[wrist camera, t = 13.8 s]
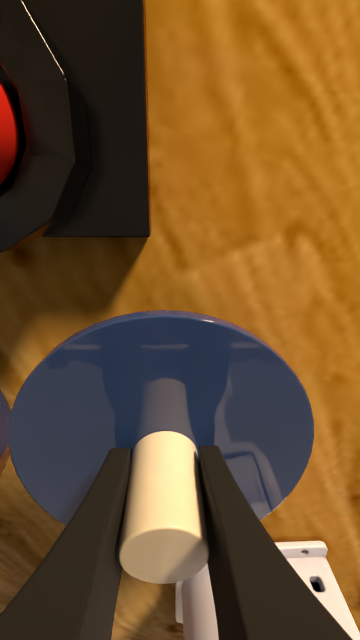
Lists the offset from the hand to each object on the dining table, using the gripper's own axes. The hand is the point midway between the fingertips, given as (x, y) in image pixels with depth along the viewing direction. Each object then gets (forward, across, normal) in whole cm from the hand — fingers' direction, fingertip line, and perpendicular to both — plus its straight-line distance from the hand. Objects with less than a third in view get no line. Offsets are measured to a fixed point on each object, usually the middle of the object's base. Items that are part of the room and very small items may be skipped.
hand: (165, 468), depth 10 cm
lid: (+1, 0, 0) cm, 1 cm away
